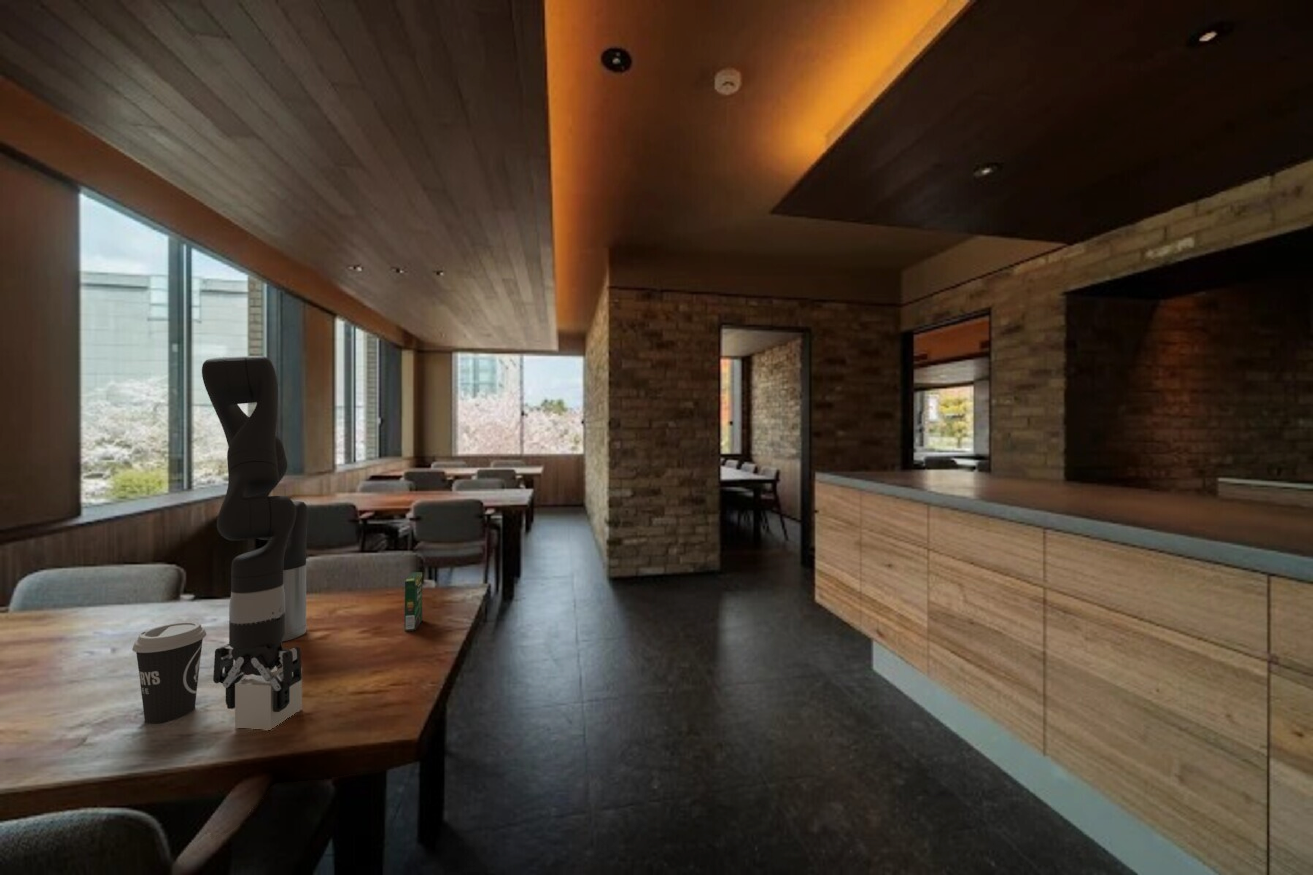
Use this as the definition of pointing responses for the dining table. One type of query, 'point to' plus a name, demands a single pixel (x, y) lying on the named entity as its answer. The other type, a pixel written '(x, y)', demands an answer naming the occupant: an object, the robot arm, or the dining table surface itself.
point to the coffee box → (413, 601)
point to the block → (262, 703)
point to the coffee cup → (169, 669)
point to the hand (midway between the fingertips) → (257, 708)
